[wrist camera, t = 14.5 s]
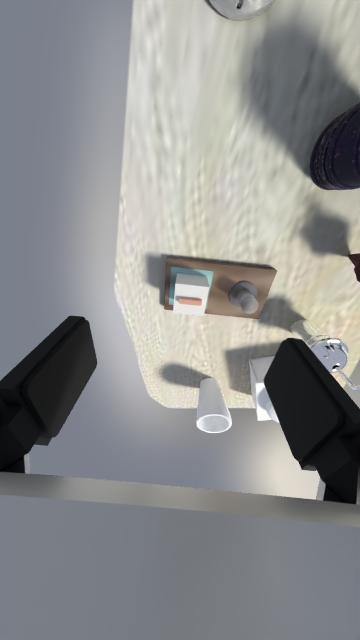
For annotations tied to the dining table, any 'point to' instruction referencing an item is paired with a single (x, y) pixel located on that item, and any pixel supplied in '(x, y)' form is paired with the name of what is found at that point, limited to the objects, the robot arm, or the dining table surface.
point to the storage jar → (338, 153)
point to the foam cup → (212, 408)
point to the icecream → (356, 264)
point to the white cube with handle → (190, 294)
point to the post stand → (224, 286)
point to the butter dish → (261, 388)
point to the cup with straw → (324, 348)
